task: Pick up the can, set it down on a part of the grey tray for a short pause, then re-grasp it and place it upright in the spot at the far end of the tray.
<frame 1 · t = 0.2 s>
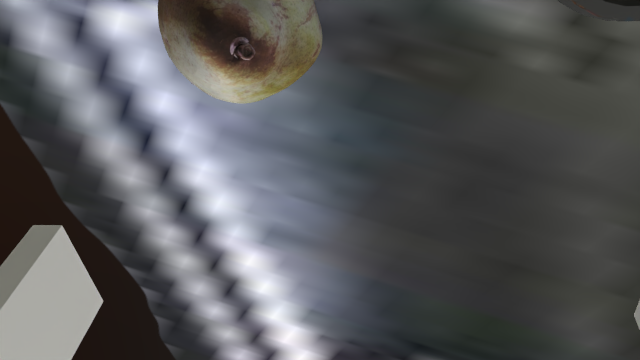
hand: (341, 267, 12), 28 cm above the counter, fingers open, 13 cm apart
fruit: (255, 0, 38), on the counter
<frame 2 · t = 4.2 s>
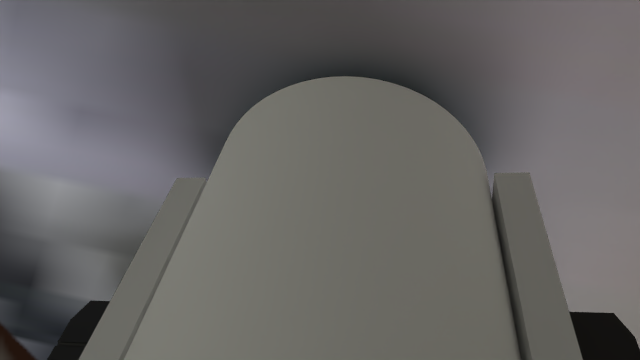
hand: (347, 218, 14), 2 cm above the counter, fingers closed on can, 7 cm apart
can: (352, 176, 15), on the counter, touching gripper
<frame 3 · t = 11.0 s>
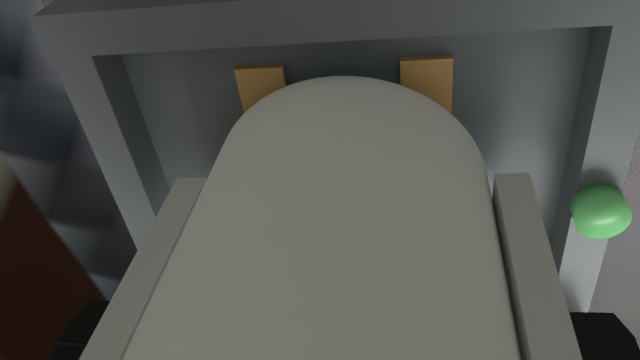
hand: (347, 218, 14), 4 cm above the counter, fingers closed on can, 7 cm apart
can: (351, 175, 15), point 2 cm above the counter, touching grey tray, gripper
grey tray: (368, 262, 20), on the counter
when the fingers open (5 cm above the counter, at t = 15.9 s): can drops 1 cm, resting on grey tray.
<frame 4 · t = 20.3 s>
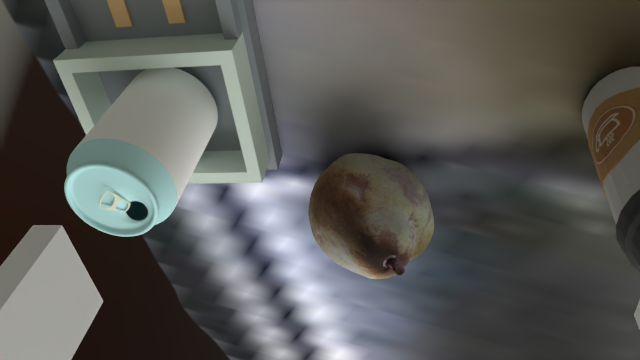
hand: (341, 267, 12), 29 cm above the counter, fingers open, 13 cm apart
fruit: (371, 180, 47), on the counter
can: (176, 102, 42), point 2 cm above the counter, touching grey tray
coffee cup: (625, 101, 40), on the counter
grey tray: (169, 39, 41), on the counter
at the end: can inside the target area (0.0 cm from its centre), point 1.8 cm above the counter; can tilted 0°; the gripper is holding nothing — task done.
